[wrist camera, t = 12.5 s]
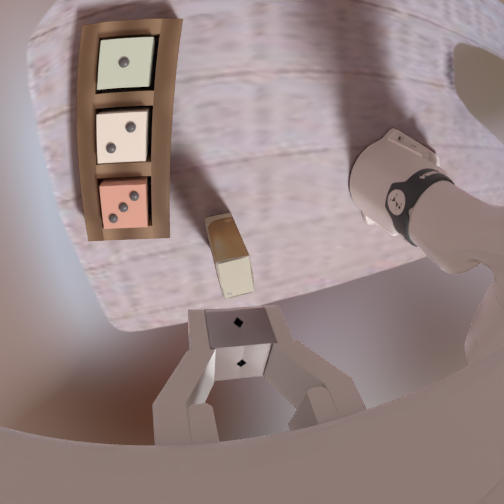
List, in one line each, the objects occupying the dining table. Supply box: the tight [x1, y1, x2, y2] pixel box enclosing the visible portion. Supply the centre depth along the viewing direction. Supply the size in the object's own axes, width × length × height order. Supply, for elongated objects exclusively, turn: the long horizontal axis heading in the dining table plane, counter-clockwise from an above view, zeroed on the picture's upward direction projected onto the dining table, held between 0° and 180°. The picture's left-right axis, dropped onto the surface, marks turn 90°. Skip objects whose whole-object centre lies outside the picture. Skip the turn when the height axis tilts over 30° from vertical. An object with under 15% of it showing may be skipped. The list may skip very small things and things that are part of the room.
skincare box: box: [204, 213, 254, 299], centre depth 42 cm, size 6×4×12 cm
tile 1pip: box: [97, 37, 156, 90], centre depth 27 cm, size 6×6×5 cm
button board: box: [76, 19, 183, 241], centre depth 32 cm, size 12×29×4 cm, turn 172°
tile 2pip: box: [97, 107, 150, 164], centre depth 31 cm, size 6×6×5 cm
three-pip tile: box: [99, 176, 149, 229], centre depth 36 cm, size 6×6×5 cm
